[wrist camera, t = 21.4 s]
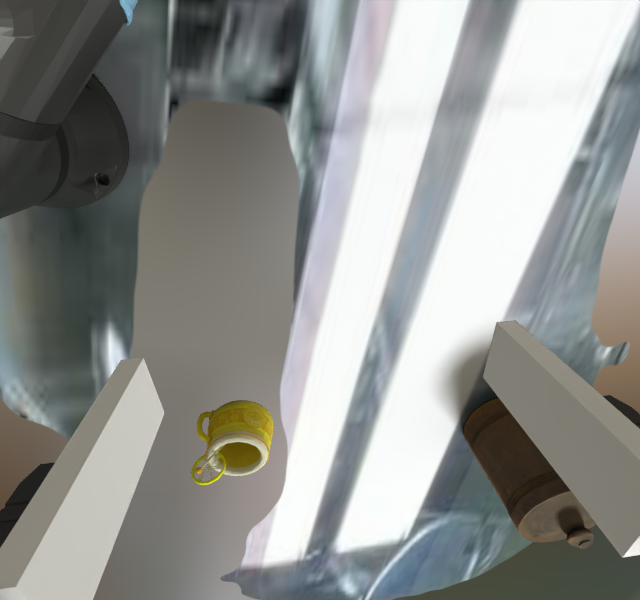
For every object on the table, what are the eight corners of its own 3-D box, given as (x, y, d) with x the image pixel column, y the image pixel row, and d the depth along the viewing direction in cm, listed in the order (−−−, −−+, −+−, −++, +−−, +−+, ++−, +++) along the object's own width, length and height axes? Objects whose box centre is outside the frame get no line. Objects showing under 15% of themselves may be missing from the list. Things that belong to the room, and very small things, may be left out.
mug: (285, 406, 59) (286, 470, 48) (256, 445, 63) (251, 511, 52) (216, 381, 54) (201, 445, 44) (189, 424, 58) (169, 492, 48)
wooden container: (460, 452, 70) (528, 578, 51) (465, 402, 63) (546, 528, 44) (529, 439, 71) (621, 560, 52) (542, 388, 63) (655, 506, 44)
